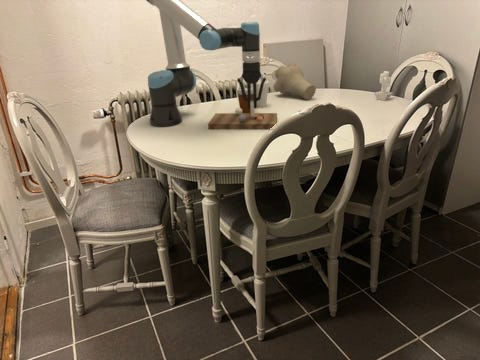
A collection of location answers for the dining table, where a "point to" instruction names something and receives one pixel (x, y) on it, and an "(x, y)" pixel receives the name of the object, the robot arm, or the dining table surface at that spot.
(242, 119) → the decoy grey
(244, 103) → the disposable coffee cup
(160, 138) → the dining table surface
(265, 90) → the foam cup
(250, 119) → the board
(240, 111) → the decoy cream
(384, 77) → the figurine
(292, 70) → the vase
